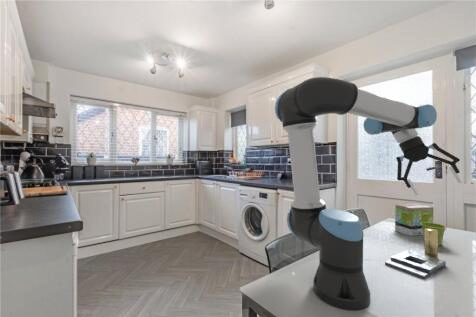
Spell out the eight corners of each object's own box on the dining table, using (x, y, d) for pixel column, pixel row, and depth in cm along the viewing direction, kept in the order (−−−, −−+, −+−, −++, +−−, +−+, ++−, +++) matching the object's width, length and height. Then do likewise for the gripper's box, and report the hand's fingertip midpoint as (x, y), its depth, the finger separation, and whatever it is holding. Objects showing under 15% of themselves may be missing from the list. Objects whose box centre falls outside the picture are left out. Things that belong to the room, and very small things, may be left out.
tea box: (412, 236, 115) (412, 208, 115) (394, 230, 124) (394, 204, 125) (434, 234, 119) (434, 206, 119) (414, 228, 128) (414, 203, 129)
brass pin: (435, 260, 88) (435, 232, 88) (422, 256, 91) (422, 229, 91) (439, 257, 90) (439, 230, 90) (427, 254, 93) (427, 227, 93)
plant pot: (452, 247, 101) (452, 227, 101) (431, 247, 101) (431, 227, 101) (434, 239, 110) (434, 222, 110) (415, 239, 111) (415, 222, 111)
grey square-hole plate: (424, 279, 74) (424, 276, 74) (385, 264, 84) (385, 261, 84) (441, 268, 81) (441, 265, 81) (403, 256, 91) (403, 254, 91)
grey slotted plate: (429, 275, 76) (429, 270, 76) (390, 262, 86) (390, 256, 86) (445, 266, 83) (445, 260, 83) (408, 254, 93) (408, 249, 93)
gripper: (445, 125, 87) (478, 176, 81) (377, 153, 101) (401, 197, 96) (447, 123, 81) (482, 177, 76) (374, 152, 96) (400, 200, 90)
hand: (437, 188), depth 86 cm, fingers open, 13 cm apart
